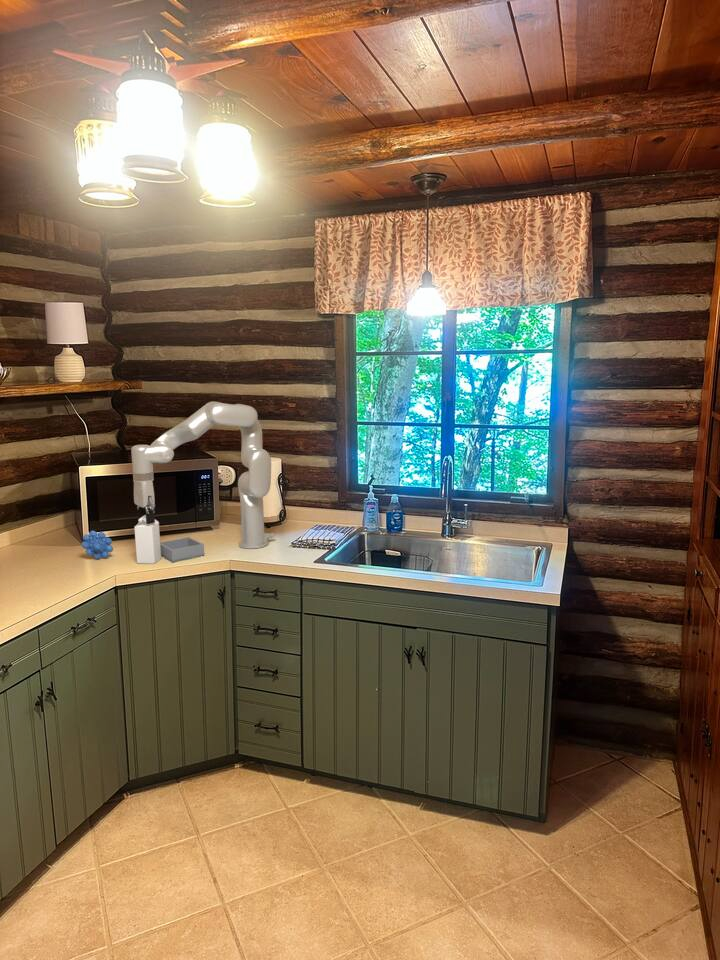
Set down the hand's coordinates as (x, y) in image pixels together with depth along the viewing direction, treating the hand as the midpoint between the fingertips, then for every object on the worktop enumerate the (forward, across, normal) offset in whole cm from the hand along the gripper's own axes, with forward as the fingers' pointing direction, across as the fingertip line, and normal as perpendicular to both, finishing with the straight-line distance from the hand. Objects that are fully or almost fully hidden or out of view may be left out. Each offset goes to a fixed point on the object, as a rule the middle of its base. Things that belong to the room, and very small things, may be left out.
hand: (146, 520), depth 270 cm
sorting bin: (+16, +1, +13) cm, 21 cm away
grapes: (+17, -15, -15) cm, 27 cm away
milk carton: (+17, 0, 0) cm, 17 cm away
